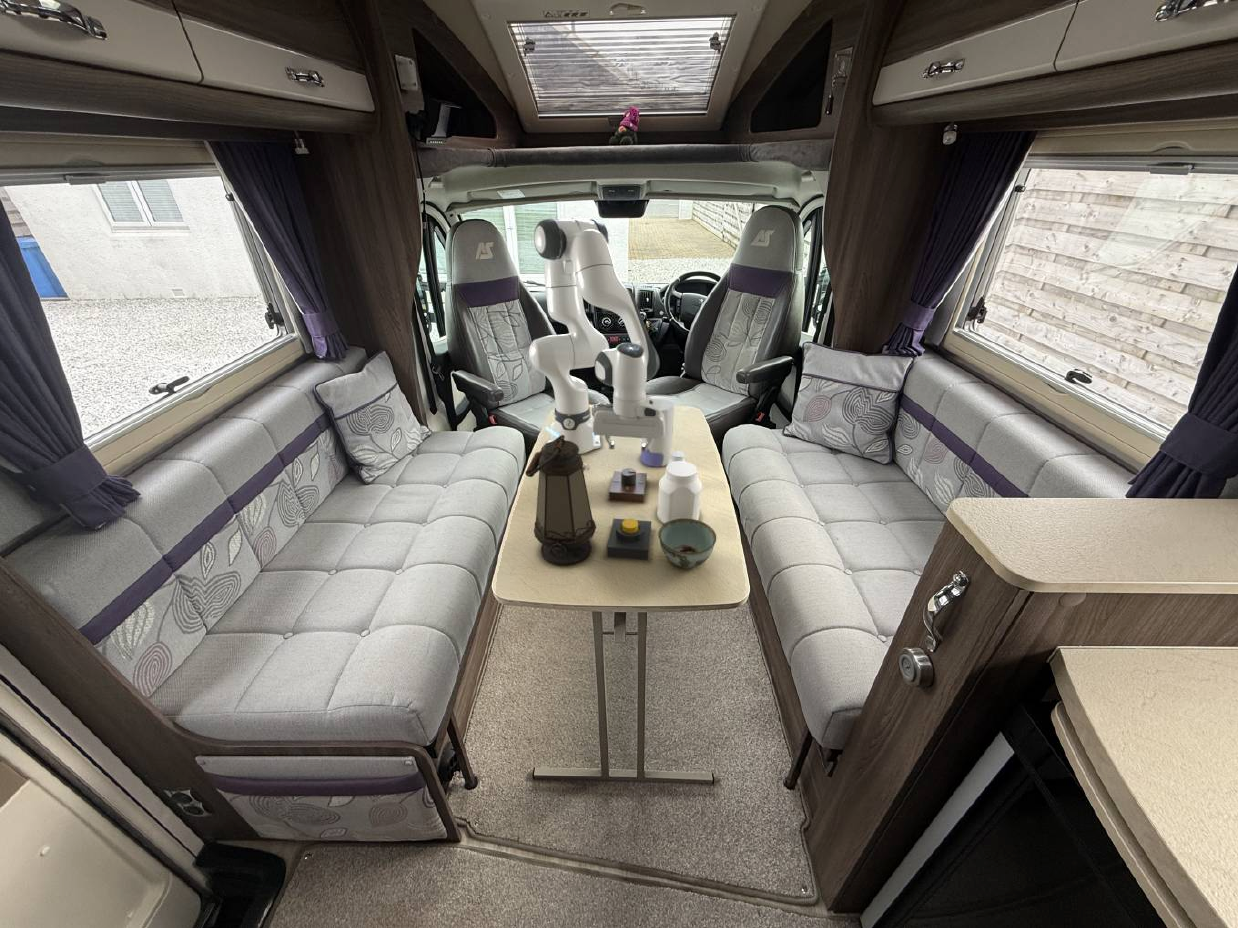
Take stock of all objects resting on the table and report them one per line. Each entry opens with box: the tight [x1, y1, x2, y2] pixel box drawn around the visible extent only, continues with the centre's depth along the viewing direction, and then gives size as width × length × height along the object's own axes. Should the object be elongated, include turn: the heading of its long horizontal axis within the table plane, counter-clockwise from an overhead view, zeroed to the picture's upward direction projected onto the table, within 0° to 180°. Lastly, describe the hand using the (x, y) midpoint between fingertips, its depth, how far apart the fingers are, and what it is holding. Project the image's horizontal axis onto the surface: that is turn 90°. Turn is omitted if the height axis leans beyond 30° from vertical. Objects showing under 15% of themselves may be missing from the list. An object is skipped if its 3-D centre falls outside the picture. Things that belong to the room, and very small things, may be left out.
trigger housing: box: [606, 518, 652, 561], centre depth 126 cm, size 12×10×5 cm
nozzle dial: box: [620, 467, 637, 486], centre depth 147 cm, size 4×4×4 cm
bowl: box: [658, 518, 717, 570], centre depth 119 cm, size 14×13×8 cm
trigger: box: [622, 518, 638, 533], centre depth 124 cm, size 4×4×2 cm
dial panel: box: [608, 470, 648, 504], centre depth 148 cm, size 12×10×3 cm
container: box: [640, 398, 675, 468], centre depth 161 cm, size 10×10×20 cm
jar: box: [656, 460, 703, 524], centre depth 134 cm, size 12×10×15 cm
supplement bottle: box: [667, 450, 687, 465], centre depth 151 cm, size 5×5×10 cm
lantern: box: [524, 435, 597, 567], centre depth 118 cm, size 18×15×30 cm
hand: (628, 449), depth 142 cm, fingers open, 8 cm apart
